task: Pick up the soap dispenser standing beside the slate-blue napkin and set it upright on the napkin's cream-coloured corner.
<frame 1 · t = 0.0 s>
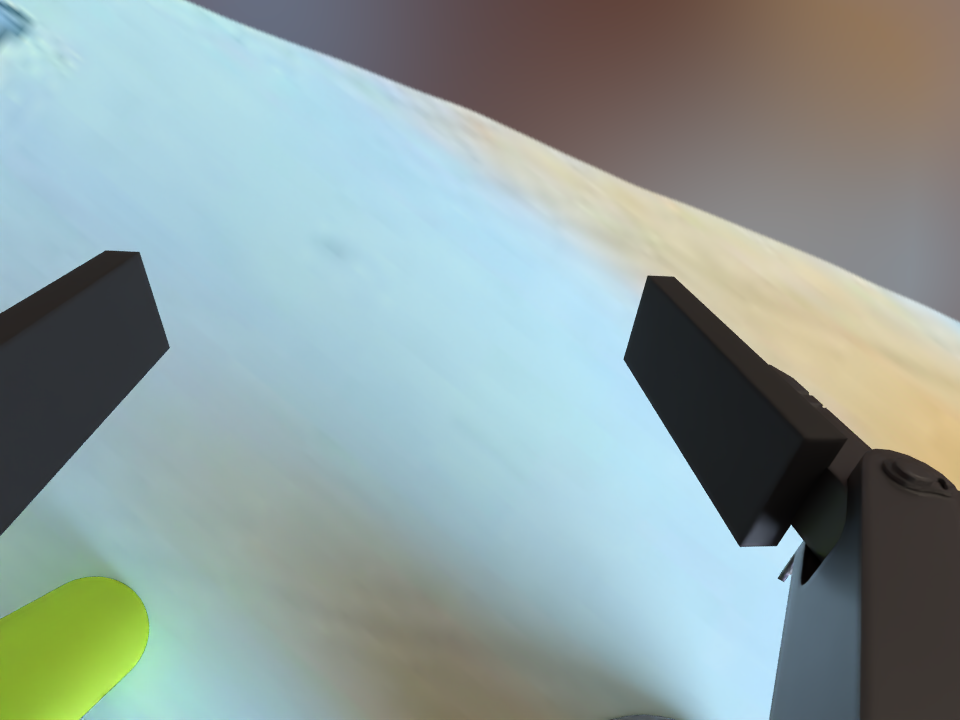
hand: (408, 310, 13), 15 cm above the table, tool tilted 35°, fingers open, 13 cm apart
soap dispenser: (99, 638, 25), on the table
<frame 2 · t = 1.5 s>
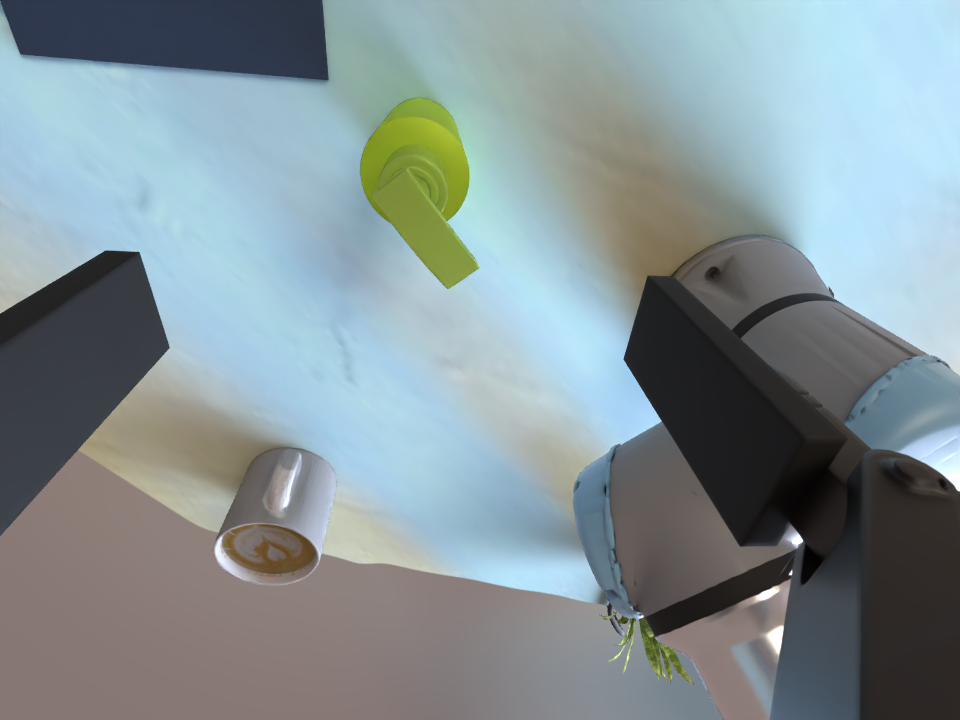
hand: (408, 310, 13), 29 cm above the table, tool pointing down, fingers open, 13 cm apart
soap dispenser: (425, 146, 37), on the table
house plant: (630, 552, 68), on the table
coffee mug: (298, 468, 54), on the table
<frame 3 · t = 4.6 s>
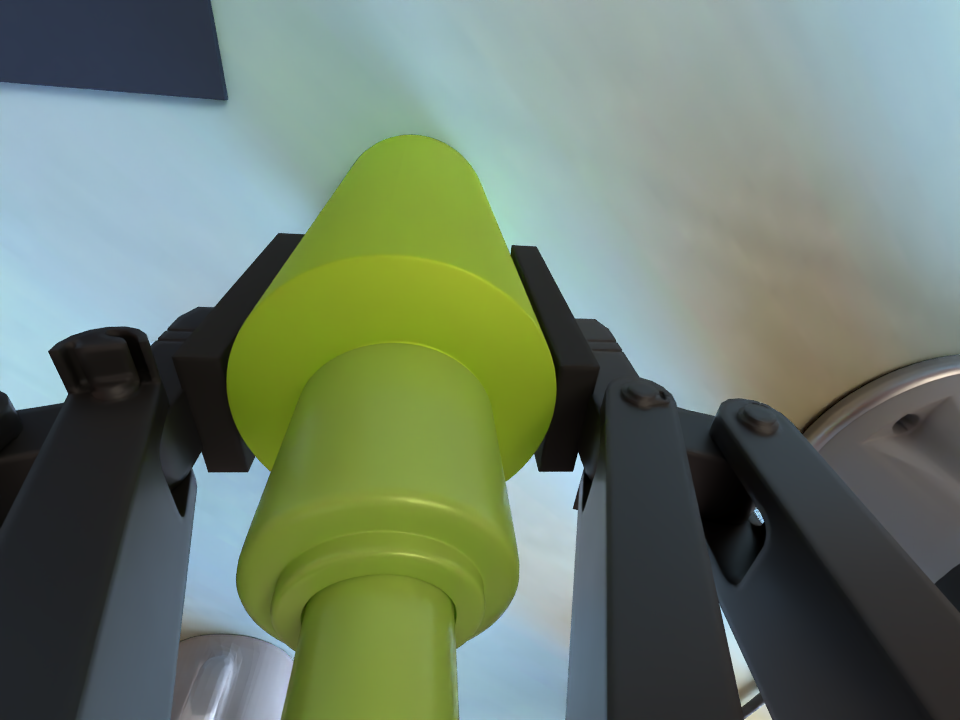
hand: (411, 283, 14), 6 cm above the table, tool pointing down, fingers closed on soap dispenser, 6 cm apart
soap dispenser: (423, 221, 20), on the table, touching gripper
coffee mug: (236, 654, 37), on the table
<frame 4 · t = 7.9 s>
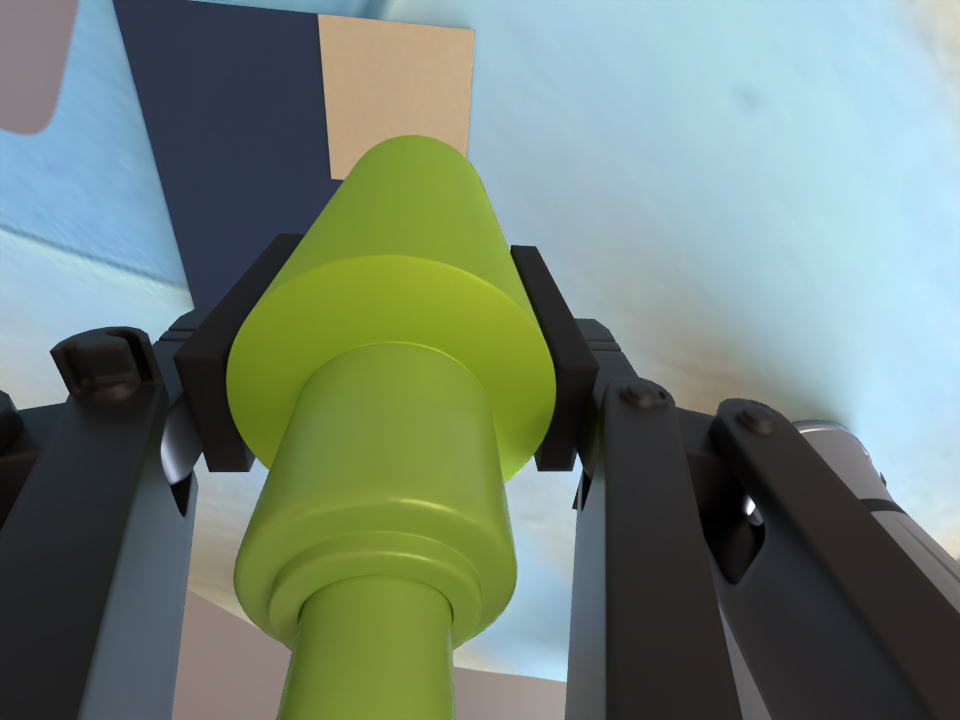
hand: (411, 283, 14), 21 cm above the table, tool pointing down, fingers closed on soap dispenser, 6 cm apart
soap dispenser: (424, 221, 20), point 14 cm above the table, touching gripper
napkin: (318, 191, 33), on the table
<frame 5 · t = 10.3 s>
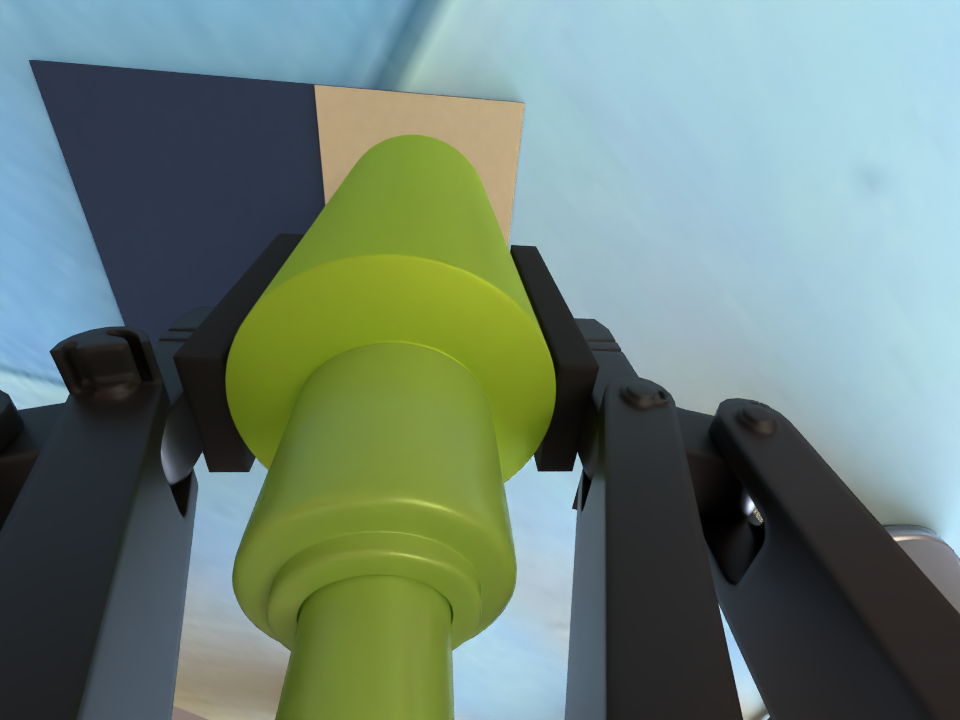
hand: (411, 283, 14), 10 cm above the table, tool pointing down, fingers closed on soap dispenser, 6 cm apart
soap dispenser: (424, 221, 20), point 4 cm above the table, touching gripper
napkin: (316, 297, 25), on the table
when the fingers open (7 cm above the table, at t = 11.6 s): soap dispenser stays where it is, resting on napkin.
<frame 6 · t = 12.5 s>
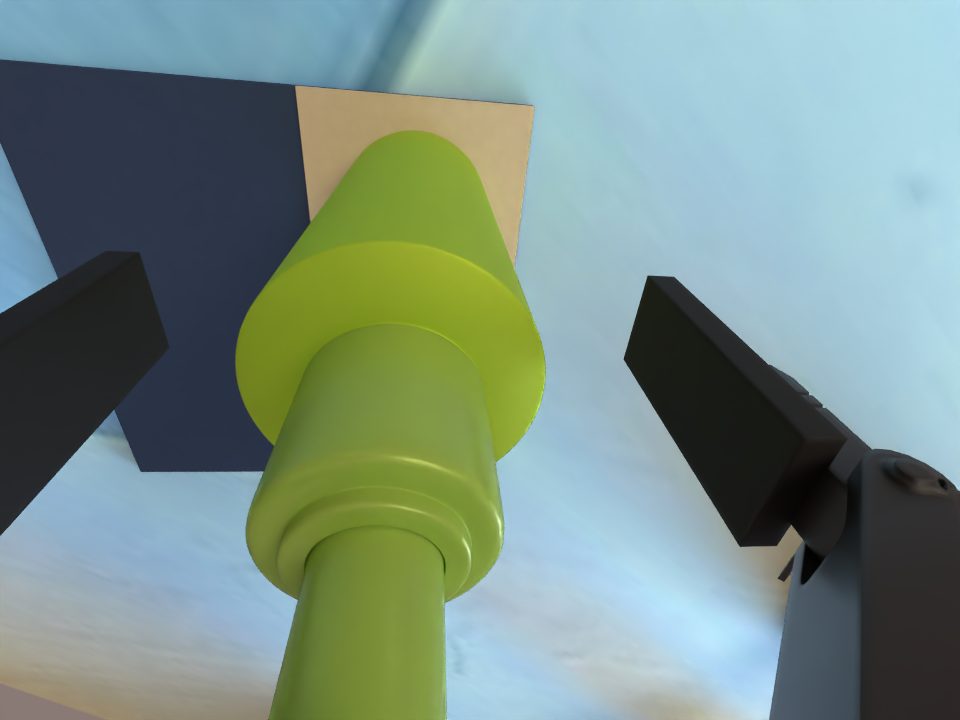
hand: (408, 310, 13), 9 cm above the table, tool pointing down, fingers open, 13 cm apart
soap dispenser: (423, 215, 21), resting on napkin
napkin: (302, 320, 23), on the table
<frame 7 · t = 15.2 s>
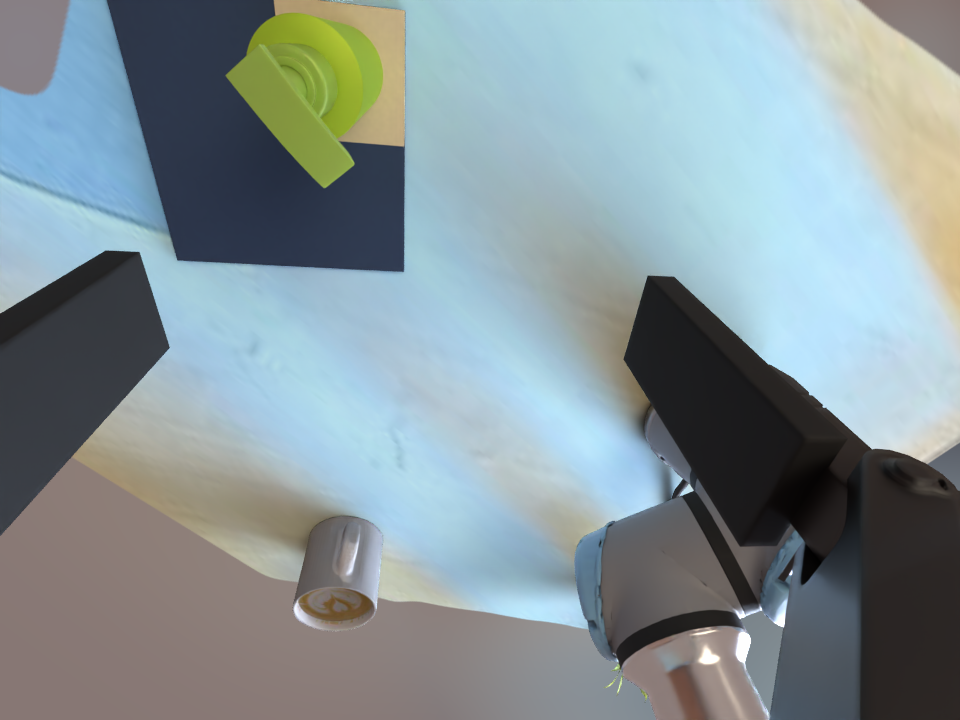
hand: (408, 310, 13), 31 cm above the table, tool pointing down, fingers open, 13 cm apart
soap dispenser: (348, 77, 36), resting on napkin
coffee mug: (351, 530, 66), on the table
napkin: (279, 148, 38), on the table
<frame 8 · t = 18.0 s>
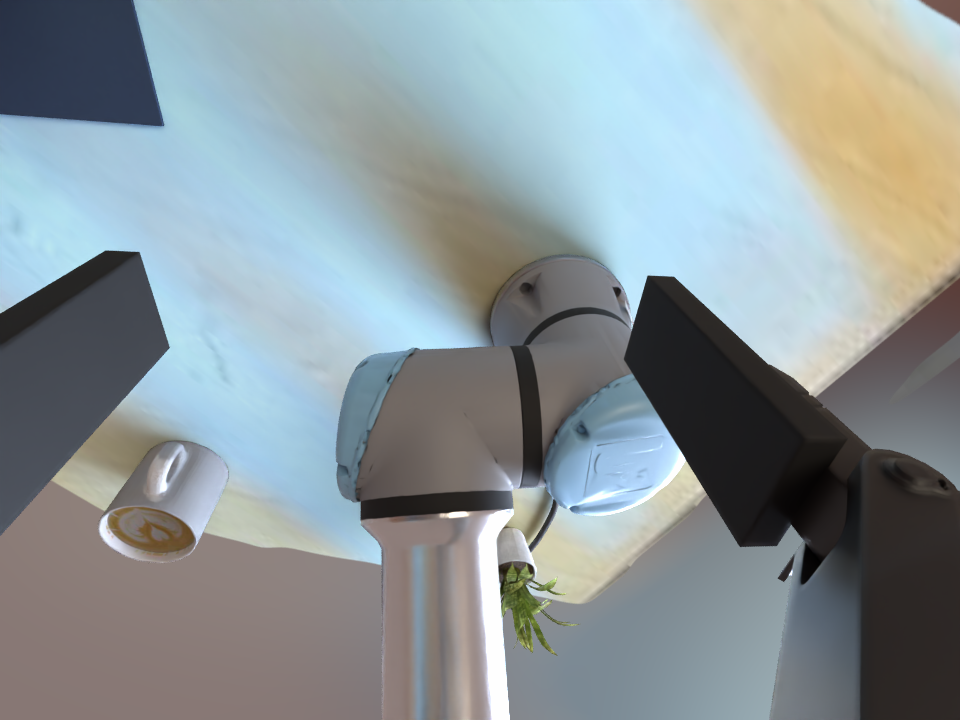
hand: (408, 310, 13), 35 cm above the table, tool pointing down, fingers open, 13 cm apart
house plant: (515, 538, 74), on the table
coffee mug: (191, 459, 60), on the table
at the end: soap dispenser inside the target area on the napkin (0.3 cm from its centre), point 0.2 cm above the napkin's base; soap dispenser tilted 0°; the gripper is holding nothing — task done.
